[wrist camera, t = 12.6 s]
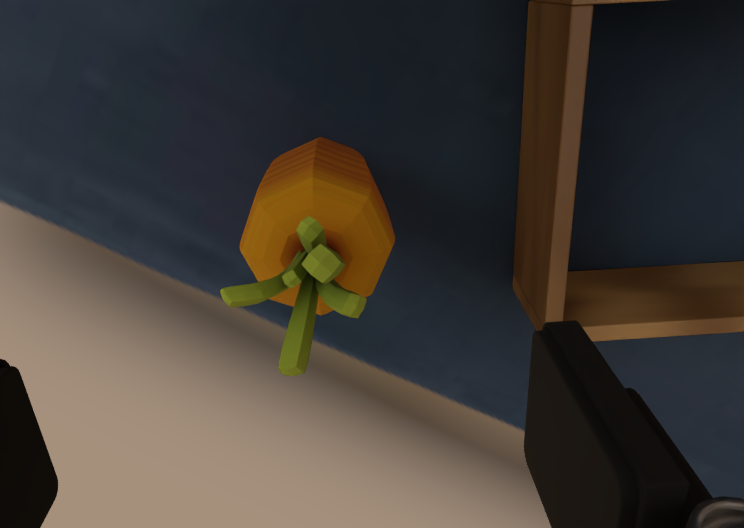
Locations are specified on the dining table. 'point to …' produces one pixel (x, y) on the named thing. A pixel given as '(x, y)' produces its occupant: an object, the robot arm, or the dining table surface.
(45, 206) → the dining table surface
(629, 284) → the wooden frame
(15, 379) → the robot arm
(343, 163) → the carrot
